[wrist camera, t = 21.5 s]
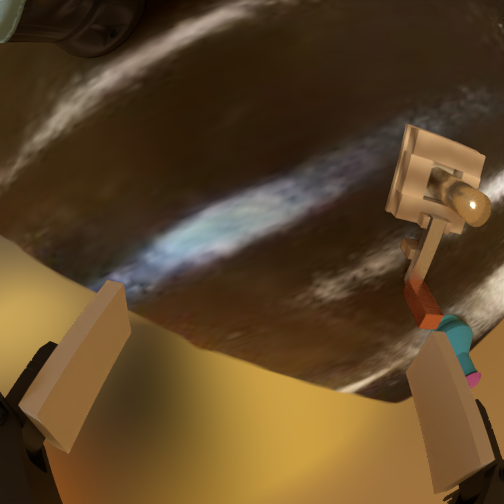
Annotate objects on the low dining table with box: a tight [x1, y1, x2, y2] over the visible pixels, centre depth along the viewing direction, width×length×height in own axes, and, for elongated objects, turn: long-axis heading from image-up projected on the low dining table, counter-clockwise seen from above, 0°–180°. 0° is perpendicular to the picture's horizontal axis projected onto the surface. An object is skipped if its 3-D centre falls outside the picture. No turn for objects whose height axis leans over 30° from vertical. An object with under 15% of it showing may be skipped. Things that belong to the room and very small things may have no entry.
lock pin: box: [402, 214, 447, 329], centre depth 35 cm, size 12×3×10 cm, turn 173°
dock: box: [385, 124, 485, 259], centre depth 36 cm, size 18×13×5 cm
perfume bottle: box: [431, 315, 481, 389], centre depth 44 cm, size 9×9×15 cm
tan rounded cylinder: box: [426, 167, 491, 227], centre depth 31 cm, size 4×4×12 cm
